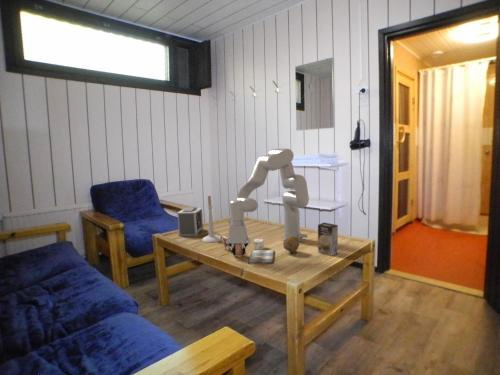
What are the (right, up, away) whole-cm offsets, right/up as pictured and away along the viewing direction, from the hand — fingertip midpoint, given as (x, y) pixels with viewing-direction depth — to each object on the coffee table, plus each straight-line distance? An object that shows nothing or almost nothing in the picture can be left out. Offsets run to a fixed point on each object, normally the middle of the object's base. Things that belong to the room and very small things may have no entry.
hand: (238, 254), depth 170 cm
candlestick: (-19, +2, +33) cm, 38 cm away
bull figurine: (-6, 0, +11) cm, 12 cm away
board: (+13, -1, -3) cm, 13 cm away
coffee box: (+49, +1, -1) cm, 49 cm away
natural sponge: (+29, 0, +1) cm, 29 cm away
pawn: (0, -1, 0) cm, 1 cm away
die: (+11, +1, +12) cm, 16 cm away
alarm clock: (-36, +4, +52) cm, 64 cm away
